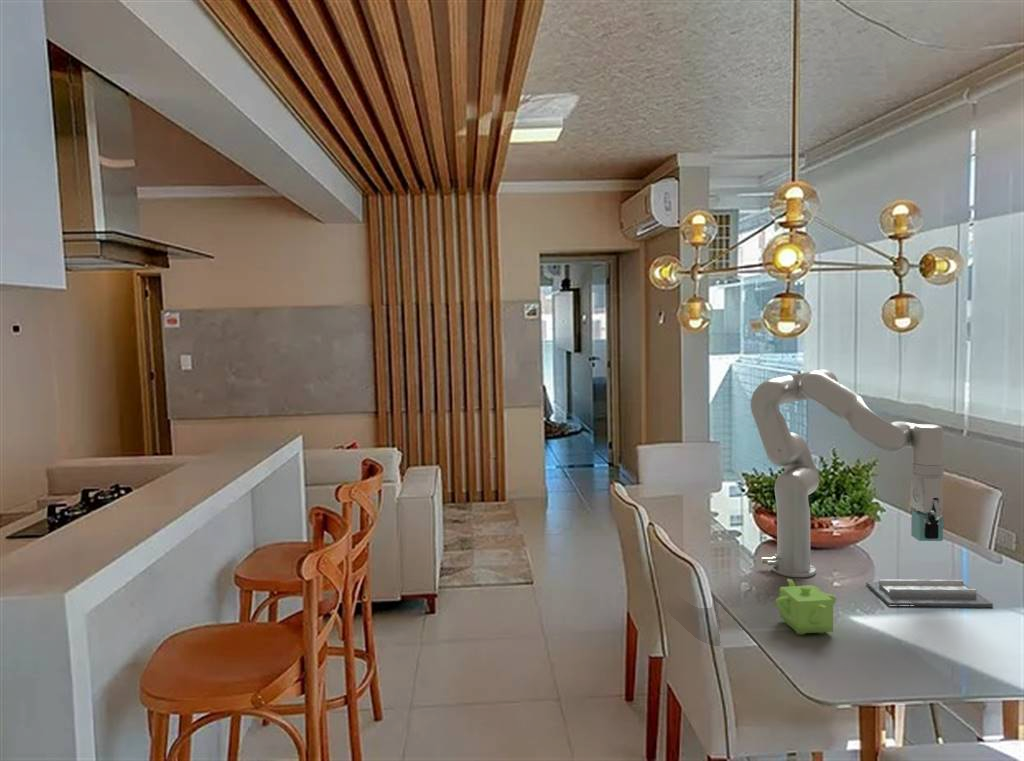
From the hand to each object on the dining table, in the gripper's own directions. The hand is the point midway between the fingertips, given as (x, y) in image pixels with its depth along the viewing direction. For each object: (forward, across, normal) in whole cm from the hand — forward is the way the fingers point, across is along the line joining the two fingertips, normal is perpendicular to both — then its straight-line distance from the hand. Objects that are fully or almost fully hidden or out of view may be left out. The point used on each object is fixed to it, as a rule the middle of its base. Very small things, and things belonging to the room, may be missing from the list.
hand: (926, 534), depth 198 cm
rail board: (+17, 0, 0) cm, 17 cm away
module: (+1, 0, 0) cm, 1 cm away
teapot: (+18, +23, -38) cm, 48 cm away
